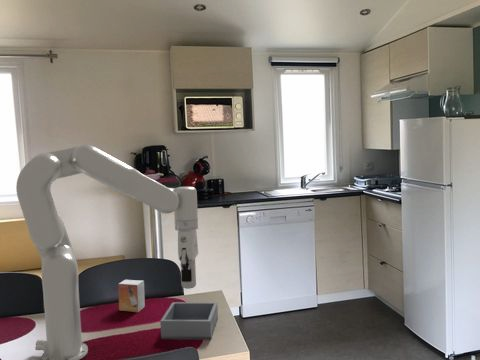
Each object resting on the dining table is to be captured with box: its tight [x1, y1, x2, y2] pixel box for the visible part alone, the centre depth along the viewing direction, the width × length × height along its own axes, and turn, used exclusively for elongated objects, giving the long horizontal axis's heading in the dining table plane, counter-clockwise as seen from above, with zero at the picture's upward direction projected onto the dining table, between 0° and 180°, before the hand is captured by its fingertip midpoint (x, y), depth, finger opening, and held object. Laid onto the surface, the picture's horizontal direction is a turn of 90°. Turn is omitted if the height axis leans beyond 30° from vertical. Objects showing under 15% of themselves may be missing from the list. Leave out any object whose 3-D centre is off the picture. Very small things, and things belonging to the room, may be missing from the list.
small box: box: [118, 279, 146, 313], centre depth 161 cm, size 8×6×10 cm
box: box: [159, 301, 219, 341], centre depth 142 cm, size 16×16×6 cm
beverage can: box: [180, 255, 197, 290], centre depth 140 cm, size 5×5×12 cm
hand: (188, 278), depth 140 cm, fingers closed on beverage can, 4 cm apart
